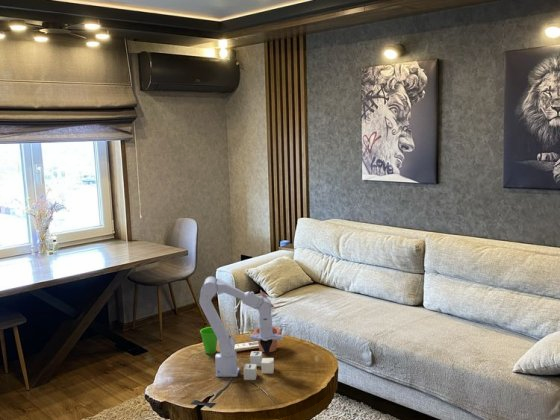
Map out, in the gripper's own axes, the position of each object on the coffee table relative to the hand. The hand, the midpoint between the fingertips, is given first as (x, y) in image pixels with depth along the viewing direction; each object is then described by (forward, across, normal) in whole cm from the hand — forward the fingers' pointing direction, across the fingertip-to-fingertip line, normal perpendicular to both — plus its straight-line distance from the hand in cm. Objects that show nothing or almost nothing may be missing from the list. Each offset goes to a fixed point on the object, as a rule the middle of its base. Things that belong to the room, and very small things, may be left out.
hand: (267, 355), depth 251 cm
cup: (+8, -30, +20) cm, 37 cm away
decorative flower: (+8, -2, +22) cm, 23 cm away
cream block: (+8, 0, 0) cm, 8 cm away
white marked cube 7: (+8, -6, +7) cm, 12 cm away
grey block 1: (+8, -7, -6) cm, 12 cm away
